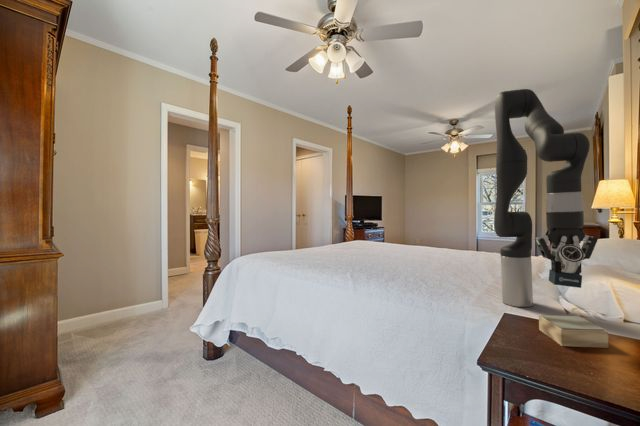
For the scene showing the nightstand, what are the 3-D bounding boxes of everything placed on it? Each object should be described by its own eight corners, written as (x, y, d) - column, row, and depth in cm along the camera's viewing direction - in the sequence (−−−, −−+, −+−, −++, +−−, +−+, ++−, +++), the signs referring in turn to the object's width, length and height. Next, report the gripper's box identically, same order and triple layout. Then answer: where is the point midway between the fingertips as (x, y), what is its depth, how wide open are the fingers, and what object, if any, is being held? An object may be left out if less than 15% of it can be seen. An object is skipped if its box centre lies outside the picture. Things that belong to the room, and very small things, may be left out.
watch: (557, 286, 74) (561, 243, 73) (546, 279, 81) (549, 240, 81) (585, 290, 72) (589, 246, 71) (571, 282, 79) (574, 242, 79)
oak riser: (539, 329, 82) (538, 314, 82) (579, 331, 80) (579, 315, 80) (561, 346, 72) (561, 328, 72) (608, 347, 70) (607, 330, 70)
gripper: (585, 208, 78) (587, 271, 79) (526, 210, 81) (529, 271, 82) (606, 208, 71) (608, 278, 71) (541, 211, 74) (544, 278, 74)
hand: (566, 274), depth 76 cm, fingers closed on watch, 3 cm apart
